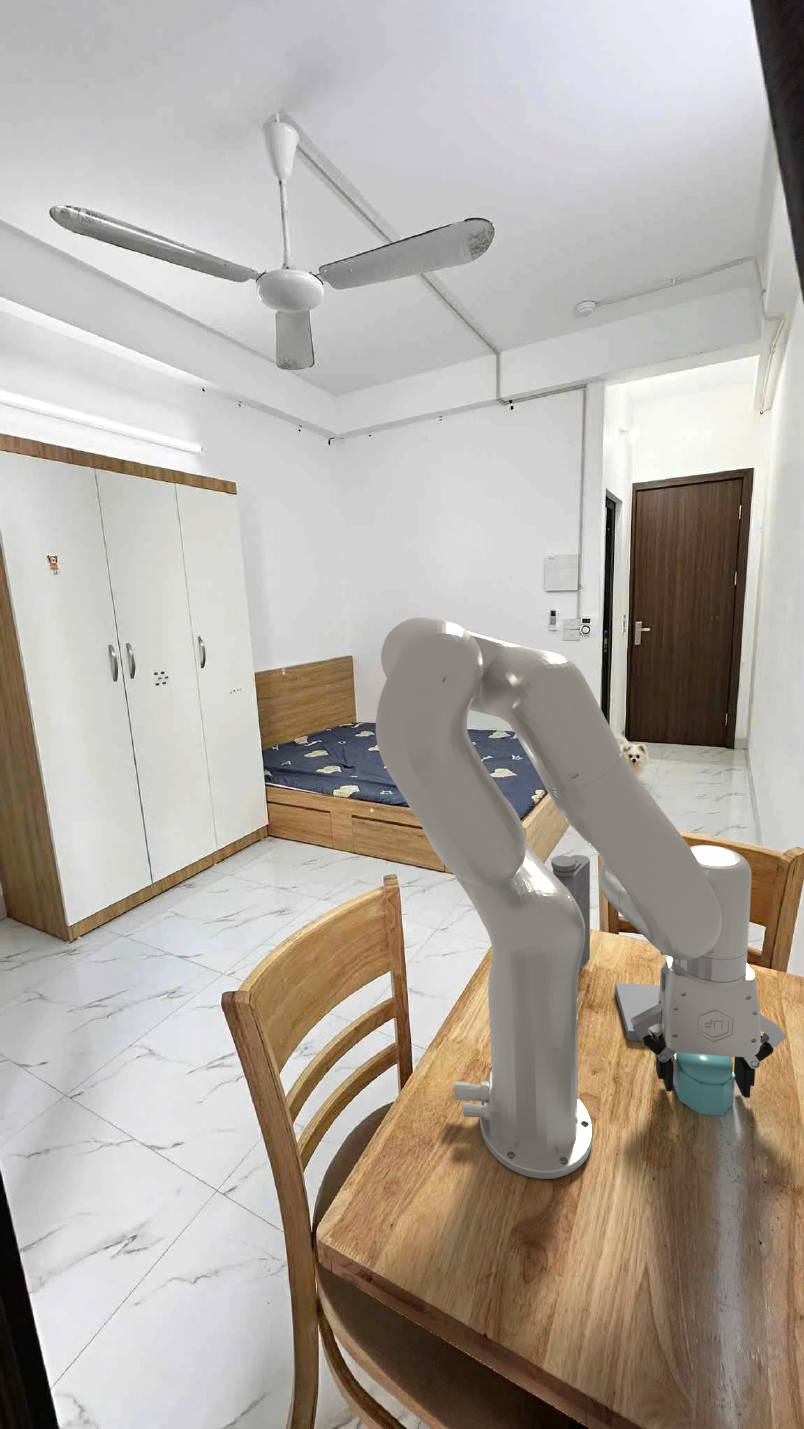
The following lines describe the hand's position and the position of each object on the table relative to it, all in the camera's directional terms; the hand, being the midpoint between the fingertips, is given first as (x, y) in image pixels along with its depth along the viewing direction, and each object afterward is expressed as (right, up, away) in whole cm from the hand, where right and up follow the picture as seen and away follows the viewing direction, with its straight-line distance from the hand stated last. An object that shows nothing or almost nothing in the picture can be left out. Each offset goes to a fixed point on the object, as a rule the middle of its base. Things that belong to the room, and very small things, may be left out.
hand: (703, 1084), depth 71 cm
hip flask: (-10, +3, +23) cm, 25 cm away
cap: (0, -1, 0) cm, 1 cm away
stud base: (+2, +2, +13) cm, 13 cm away
